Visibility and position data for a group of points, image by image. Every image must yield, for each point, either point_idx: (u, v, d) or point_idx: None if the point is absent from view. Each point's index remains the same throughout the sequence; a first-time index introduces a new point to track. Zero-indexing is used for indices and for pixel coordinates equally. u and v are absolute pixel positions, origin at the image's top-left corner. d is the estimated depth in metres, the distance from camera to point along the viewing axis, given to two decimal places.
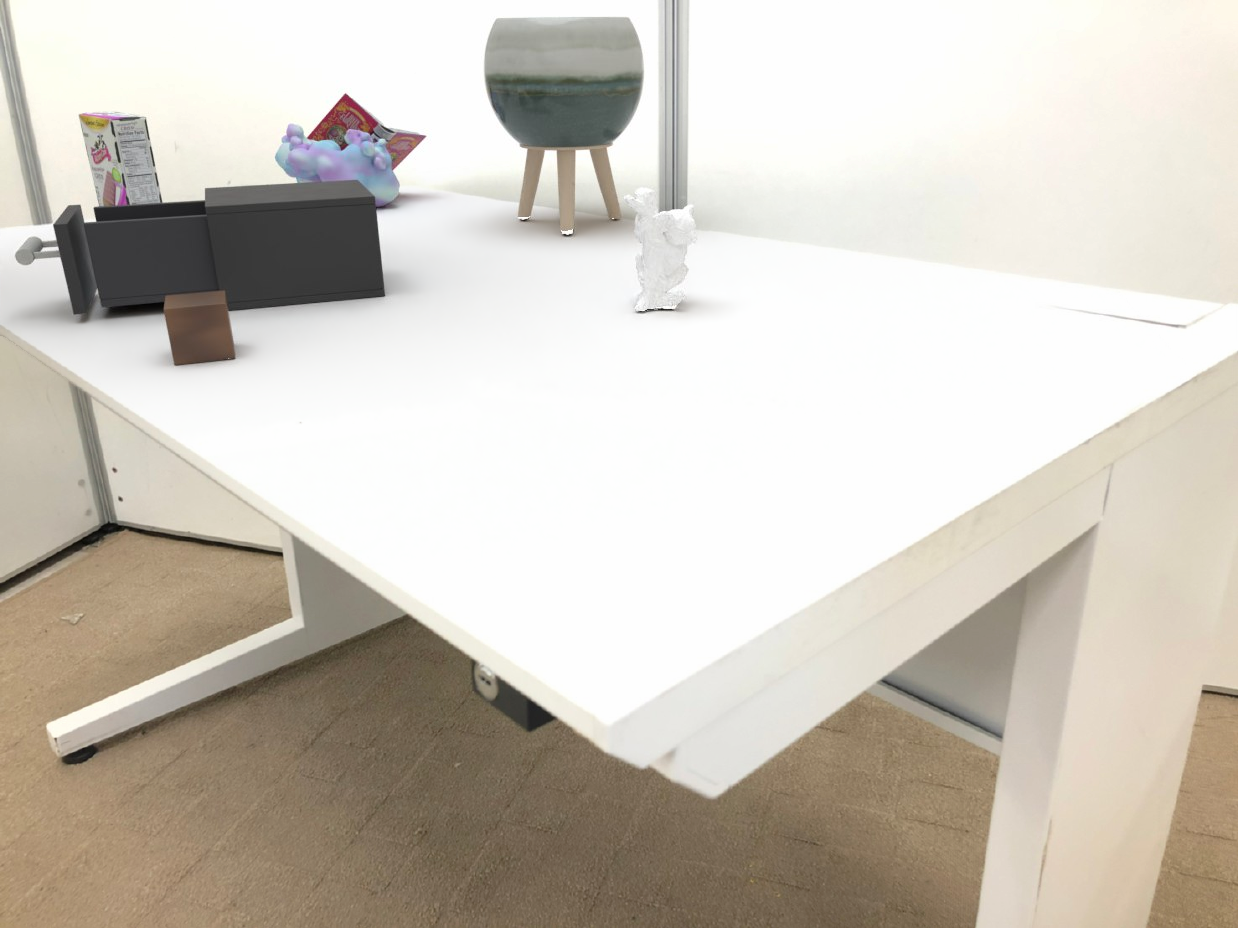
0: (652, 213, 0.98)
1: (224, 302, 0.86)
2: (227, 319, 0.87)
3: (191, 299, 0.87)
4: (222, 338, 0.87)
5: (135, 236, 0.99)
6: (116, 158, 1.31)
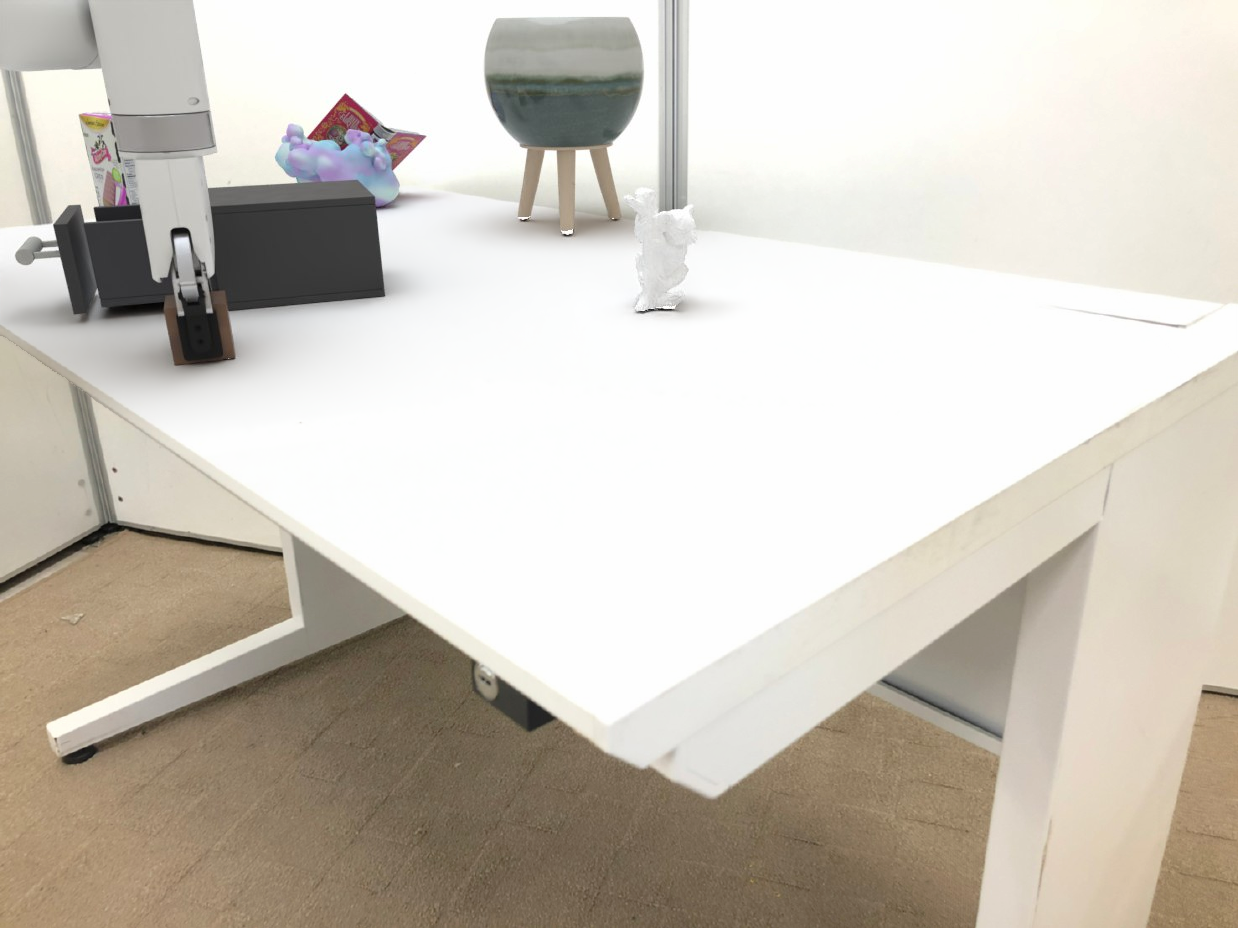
0: (652, 213, 0.98)
1: (224, 302, 0.86)
2: (227, 319, 0.87)
3: None
4: (222, 338, 0.87)
5: (135, 236, 0.99)
6: (116, 159, 1.31)
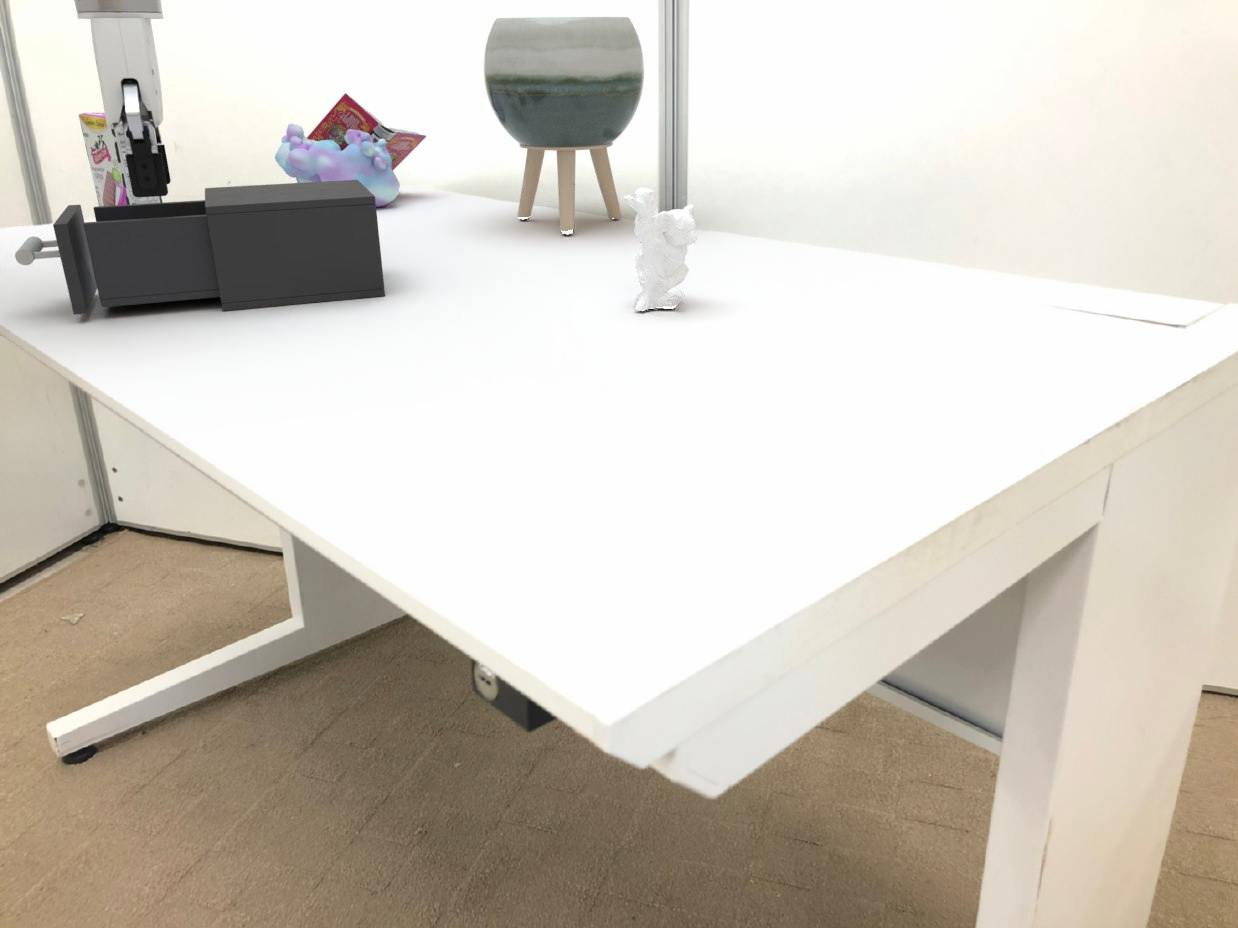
0: (652, 213, 0.98)
1: None
2: None
3: None
4: None
5: (135, 236, 0.99)
6: (116, 159, 1.31)
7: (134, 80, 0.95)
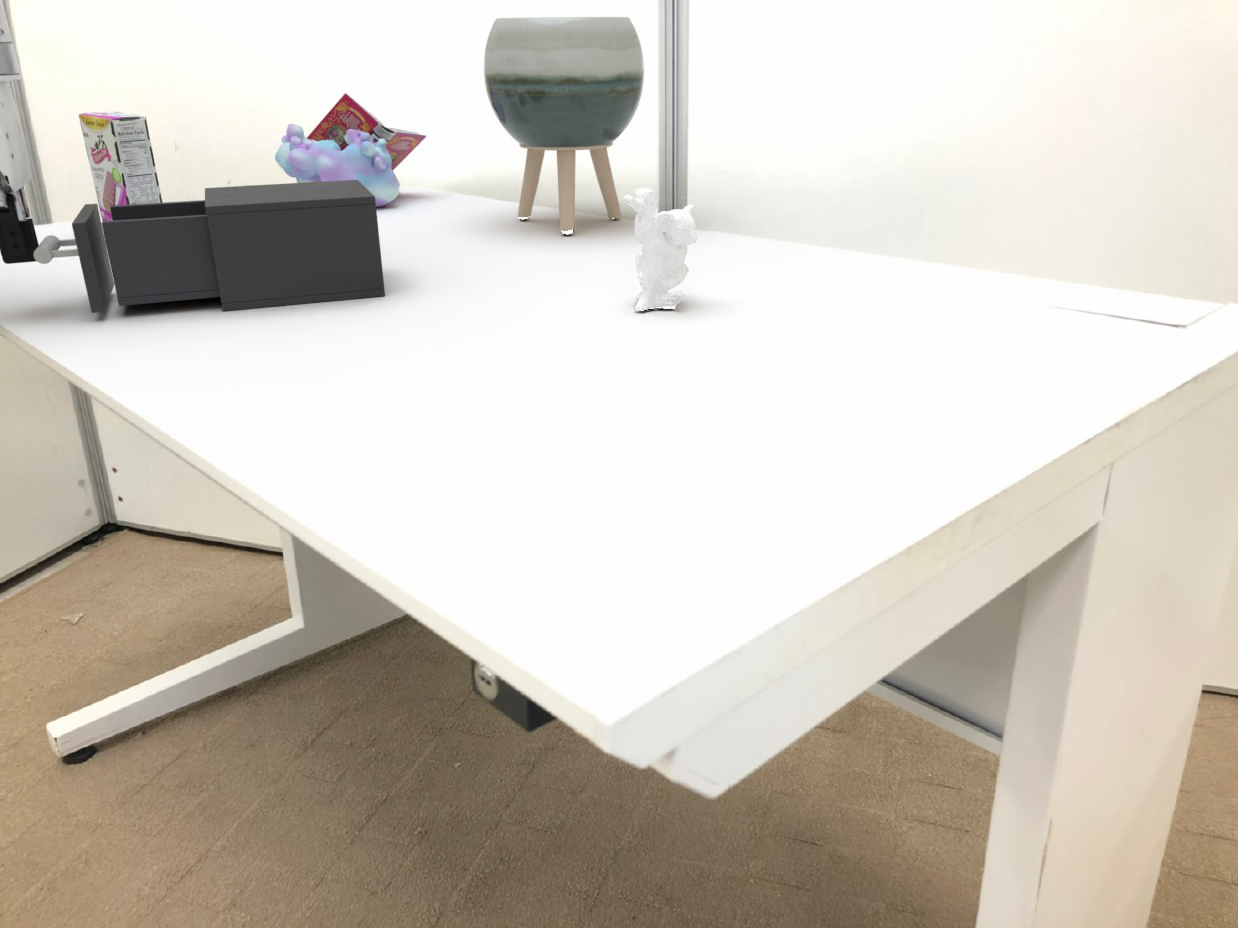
0: (652, 213, 0.98)
1: None
2: None
3: None
4: None
5: (153, 235, 0.99)
6: (116, 159, 1.31)
7: None
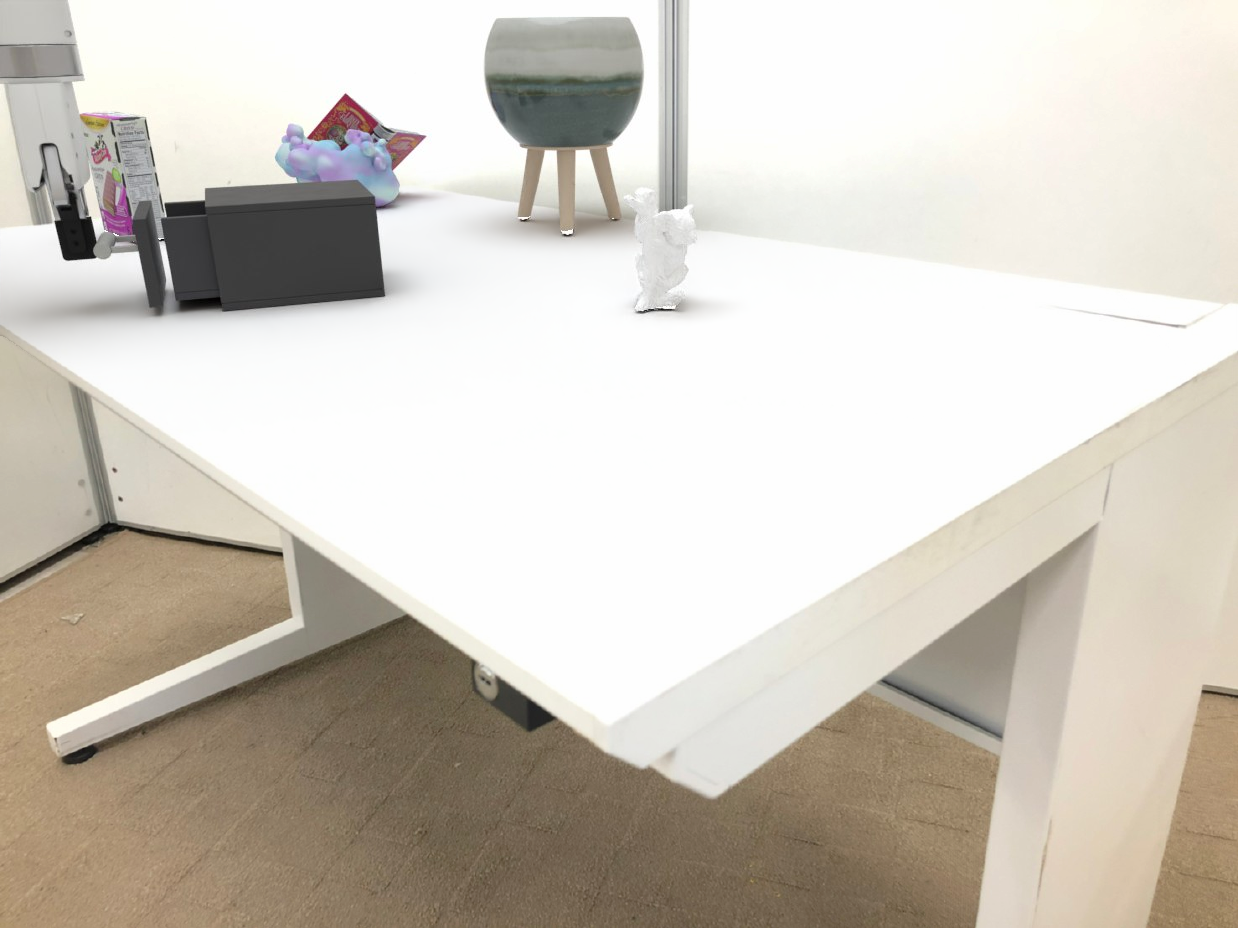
0: (652, 213, 0.98)
1: None
2: None
3: None
4: None
5: None
6: (116, 159, 1.31)
7: (55, 152, 0.95)
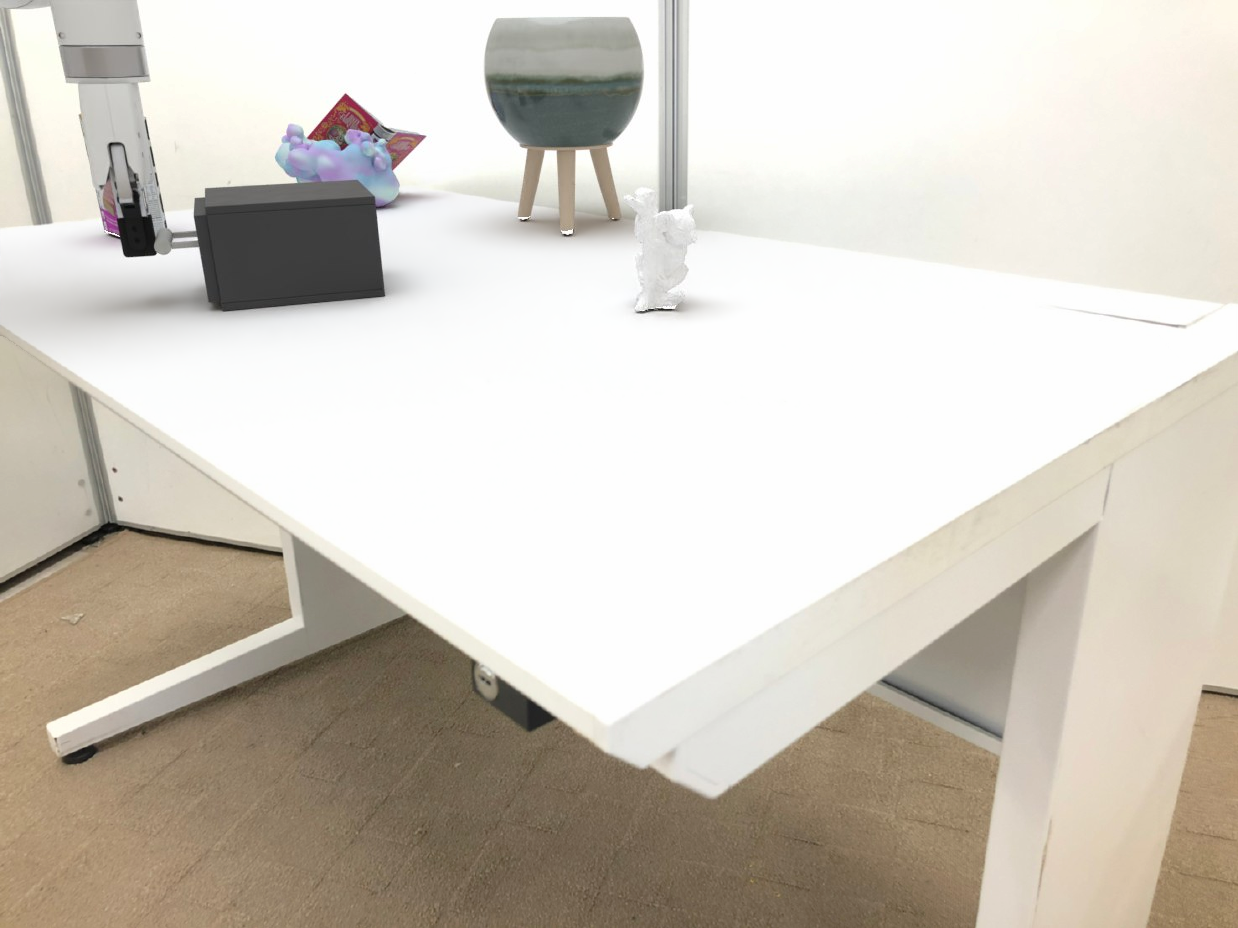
0: (652, 213, 0.98)
1: None
2: None
3: None
4: None
5: None
6: None
7: (122, 151, 0.97)
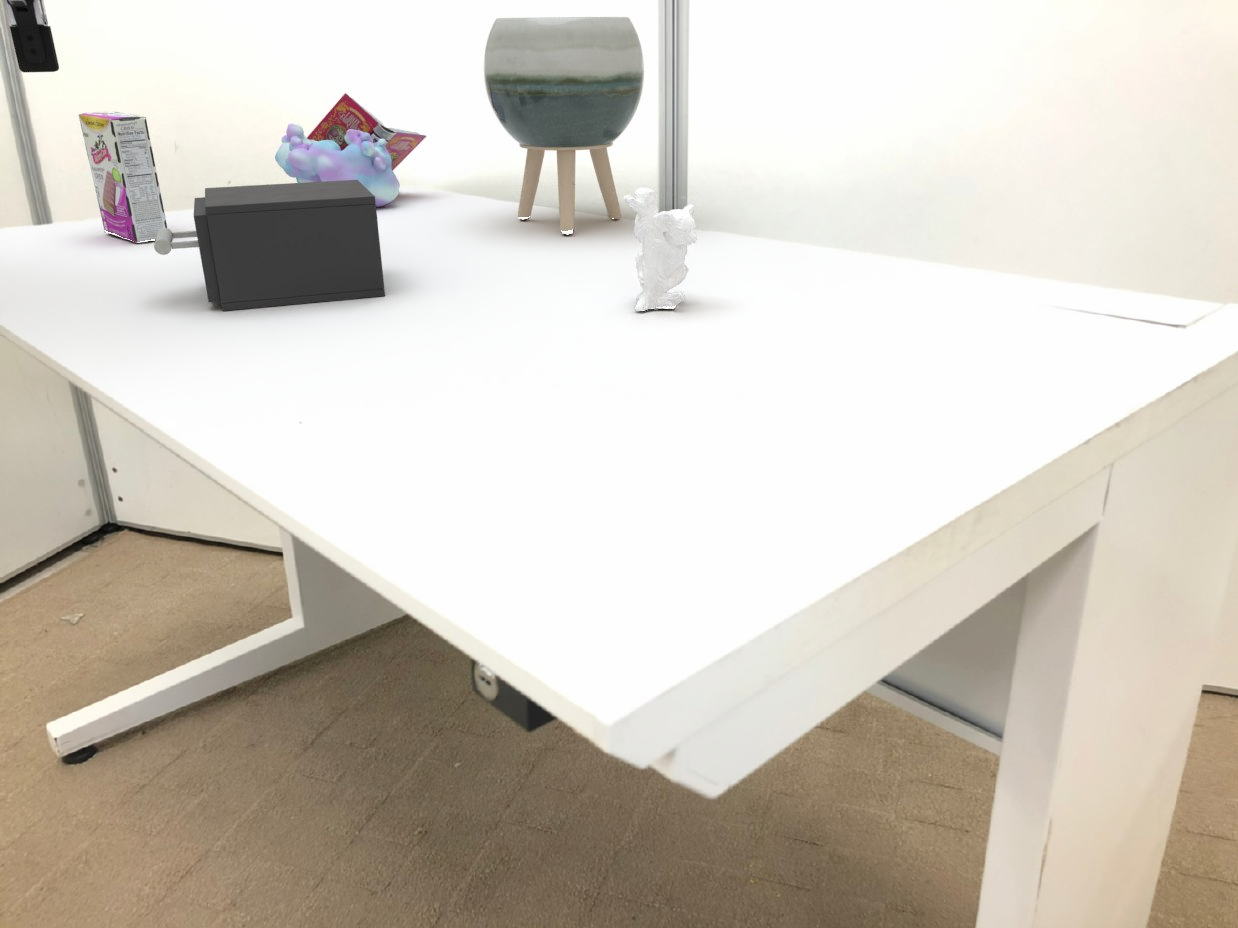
0: (652, 213, 0.98)
1: None
2: None
3: None
4: None
5: None
6: (116, 159, 1.31)
7: None
